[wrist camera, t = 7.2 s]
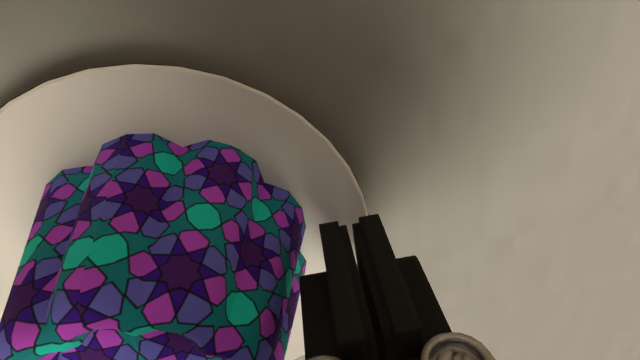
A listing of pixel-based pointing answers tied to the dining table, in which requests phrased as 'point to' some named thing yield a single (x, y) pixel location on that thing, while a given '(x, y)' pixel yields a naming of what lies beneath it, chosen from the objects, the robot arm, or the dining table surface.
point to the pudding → (161, 218)
